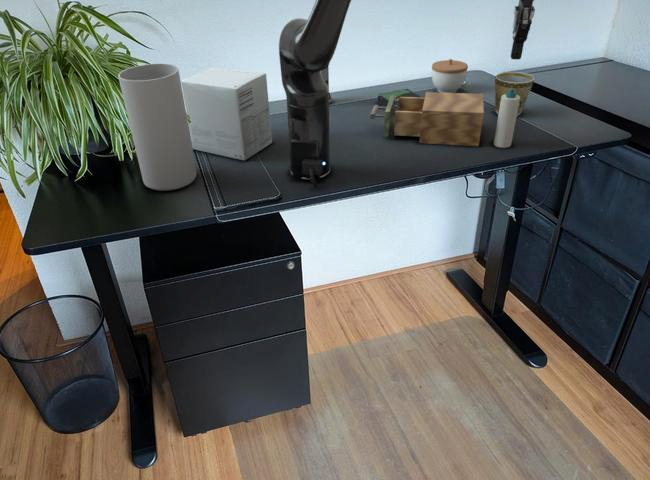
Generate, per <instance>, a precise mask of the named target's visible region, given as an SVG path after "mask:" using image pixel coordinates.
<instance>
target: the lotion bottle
mask: <svg viewBox="0 0 650 480" xmlns="http://www.w3.org/2000/svg"><path fill="white" fill-rule="evenodd" d="M519 101H520V96H518V95H516V92H514V89H510V91H508V92H507V94H505V95H502V97H501V103H500V108H499V114H497V121H496V126H495V132H494V138H493V146H495V147H496V148H501V149H505V148H511V146H512V141H513V136H514V132H515V126H516V122H517V117H518V116H517V112H518V106H519Z"/></svg>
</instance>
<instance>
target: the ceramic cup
mask: <svg viewBox="0 0 650 480" xmlns="http://www.w3.org/2000/svg"><path fill="white" fill-rule="evenodd" d="M534 81H535V77H534V75H532V74H530V73H526V72H520V71H505V72H504V71H503V72H499V73H497V74H496V75H495V77H494V94H495V95H494V97H495V98H494V99H495V100H494V102H495V104H494V107H495V110H494V111H495V114H497V115H498V114H499V108H500V103H501V97H502V95H505V94H507V92H508V91H510V89H514V92H516V95H518V96H520V101H519V106H518V112H517V117H519V116H520V115H521V114H522V112H523V110H524V107H525V104H526V101H527V99H528V96H529V94H530V92H531V90H532V87H533V84H534Z"/></svg>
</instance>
